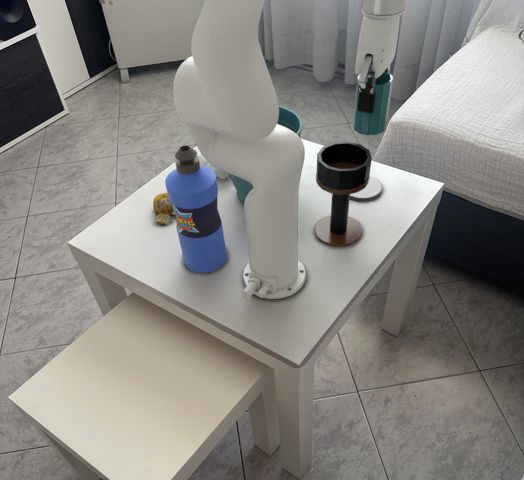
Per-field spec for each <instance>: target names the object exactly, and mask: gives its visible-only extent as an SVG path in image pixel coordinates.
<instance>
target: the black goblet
mask: <svg viewBox="0 0 524 480" xmlns="http://www.w3.org/2000/svg"><path fill="white" fill-rule="evenodd" d="M372 158H373V157H372V154H371V151H370V149H368V148H367V147H366V146H364V145H362V144H360V143H356V142H351V141H336V142H332V143H329V144H327V145H324V146H322V147H321V148H320V150H319V151H318V152H317V154H316V172H315V182H316V184H317V186H318V187H319V188H320V189H321V190H322V191H324V192H327V193H329V194H331V207H330V215H329V216H325V217H323V218H322V219H320V220H319V221H318V222H317V223H316V225H315V228H314V234H315V236H316V238H317V240H318V241H320V242H321V243H323V244H324V245H326V246H330V247H334V248H335V247H336V248H341V247H348V246H351V245H354V244H355V243H356V242H357V241H358V240H359V239H360V238H361V236H362V232H363V231H362V226H361V224H360V223H359V221H357V220H356V219H354V218H352V217H350V216H349V211H350V209H349V207H350V199H351V198H350V194H353V193H357V192H359V191H361V190H363V189H364V188H365V187H366V186H367V185H368V183H369V177H371V175H370V174H371V167H372V160H373V159H372Z"/></svg>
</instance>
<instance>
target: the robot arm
mask: <svg viewBox="0 0 524 480" xmlns="http://www.w3.org/2000/svg"><path fill="white" fill-rule="evenodd" d="M265 2H266V0H204V2H203V5H202V8H201V11H200V14H199V16H198V19H197V22H196V24H195V26H194V28H193V32H192V36H191V41H190V48H191V49H190V51H191V56H189V57H188V58H186V59H185V60H184V61H183V62H182V63H181V64H180V65H179V67H178V68H177V71H176V73H175V76H174V80H173V85H172V86H173V87H172V89H173V90H172V94H173V95H172V96H173V103H174V107H175V110H176V113H177V116H178V117H179V119H180V121H181V123H182V125H183V126H184V128H185V129H186V132H187V133H188V134H189V136H190V138H191V140H192V141H193V142H194V144H195V146H196V147H197V149H198V150H199V152H200V153H201V154H202V155H203V157H204V158H205V159H206V160H207V161H208V162H209V163H210V164H211V165H212V166H214V167H216V168H218V169H220V170H222V171H225V172H227V173H230V174H232V175H235V176H238V177H240V178H242V179H244V180H247V181H248V182H250V183H251V184H252V185H253V189H252V190H251V191H250V192H249V194H248V195H247V197H246V199H245V203H243V212H244V213H243V214H244V221H245V229H246V230H245V231H246V241H247V251H248V260H249V262H247V264H246V265H245V267H244V269H243V273H242V278H243V283H244V286H245V287H244V288H243V289H242V290H241V293H240V295H241V297H243V298H244V299H245V300H250V298H251V297H252V296H253V295H255V296H257V297H258V298H260V299H268V300H278V299H284V298H288V297H290V296H292V295H294V294H297V292H298V291H300V290H301V289H302V287H303V286H304V284H305V282H306V277H307V273H306V272H307V271H306V268H305V264H303V263H302V262H301V260H300V259H299V191H300V183H301V177H302V173H303V168H304V164H305V158H306V157H305V154H306V149H305V144H304V142H303V140H302V139H301V136H300V137H299V136H298V135H297V134H296V133H295V132H293V131H292V130H290V129H288V128H286V127H284V126H282V125H279V124H277V123H278V118H279V106H280V105H279V100H278V95H277V92H276V90H275V87H274V84H273V81H272V78H271V74H270V72H269V69H268V67H267V66H268V65H267V63H266V60H265V57H264V54H263V52H262V48H261V44H260V40H259V25H260V20H261V16H262V12H263V9H264V5H265ZM361 3H362V4H361V14H362V15H363V16H362V19H361V25H360V31H359V34H358V35H359V36H358V43H357V50H356V58H355V65H354V66H355V67H354V73H355V75H356V76H359V75H360V77H359V80H358V82H359V99H358V111H361V112H366V113H373V111H374V104H375V96H376V92H374V90H375V86H376V82H377V78H378V77H379V76H381V75H382V73H383V72H384V71H385V72H388V73H390V74H391V64H392V63H393V61H394V59H395V57H396V51H397V46H398V39H399V29H400V19H401V16H402V15H404V14H405V11H406V4H407V0H362V1H361ZM370 71H373V72H375V75H371V74H369V73H370ZM360 73H361V74H360ZM368 78H371V79H373V80H372V84H370V82H368Z"/></svg>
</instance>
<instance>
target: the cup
mask: <svg viewBox="0 0 524 480" xmlns="http://www.w3.org/2000/svg"><path fill="white" fill-rule="evenodd" d="M360 74H361V73H360ZM369 74H371V75H375V72H373V71H370V73H369ZM359 77H360V75H357V77H356V89H355V98H354V99H355V100H354V110H353V122H352V127H353V130H354V131H355V132H356V133H358V134H360V135H364V136H377V135H380V134H382V133H384V132H385V130H387V125H388V119H389V112H390V106H391V105H390V104H391V100H392V99H391V98H392V91H393V85H394V76H393V74H391V72H390V73H388V72H385V71H384V72H383V73H382V75H381V76H379V77H378V78H377V82H376V86H375V90H374V92H376V96H375V104H374V111H373V113H366V112H361V111H358V99H359V82H358V80H359ZM372 80H373V79H371V78H368V82H370V84H372Z"/></svg>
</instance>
